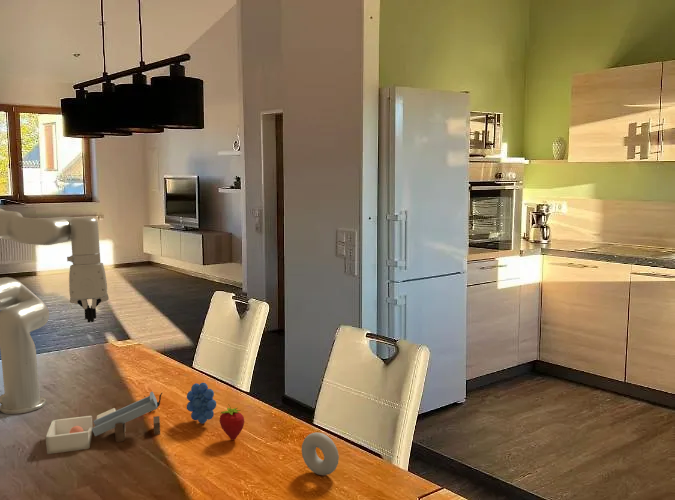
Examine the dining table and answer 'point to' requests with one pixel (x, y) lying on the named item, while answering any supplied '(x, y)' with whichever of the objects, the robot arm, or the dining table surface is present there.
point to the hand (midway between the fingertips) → (90, 321)
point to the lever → (124, 414)
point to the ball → (76, 429)
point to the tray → (69, 435)
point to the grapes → (201, 402)
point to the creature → (159, 401)
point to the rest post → (156, 425)
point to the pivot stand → (120, 432)
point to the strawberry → (232, 422)
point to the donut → (326, 447)
